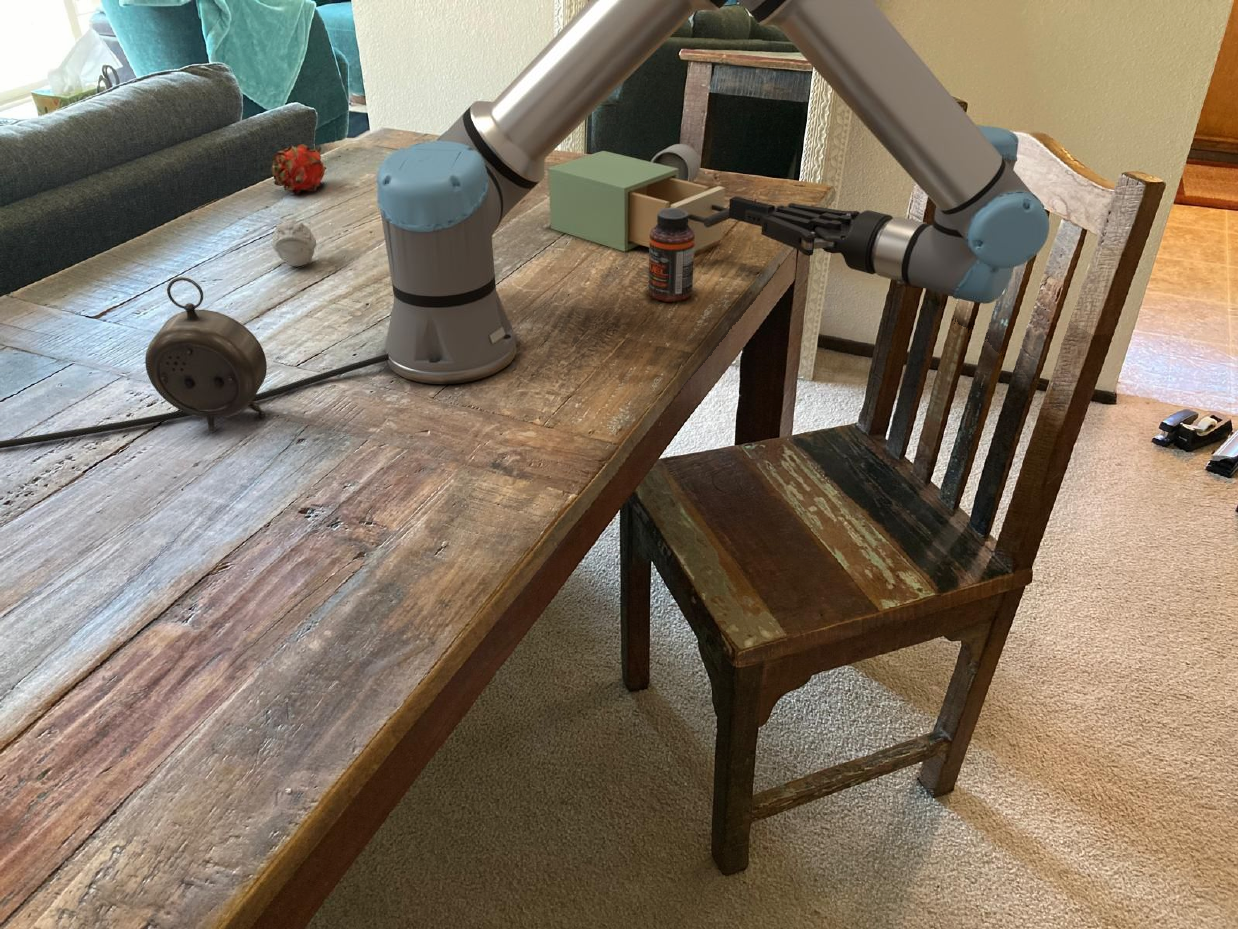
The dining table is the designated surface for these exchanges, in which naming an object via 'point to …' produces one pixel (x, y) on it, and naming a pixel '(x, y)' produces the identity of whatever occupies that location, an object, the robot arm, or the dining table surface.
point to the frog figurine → (293, 242)
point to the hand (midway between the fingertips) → (732, 207)
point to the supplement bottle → (671, 256)
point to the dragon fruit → (297, 168)
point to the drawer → (679, 194)
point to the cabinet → (599, 195)
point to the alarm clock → (206, 363)
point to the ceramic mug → (680, 161)
